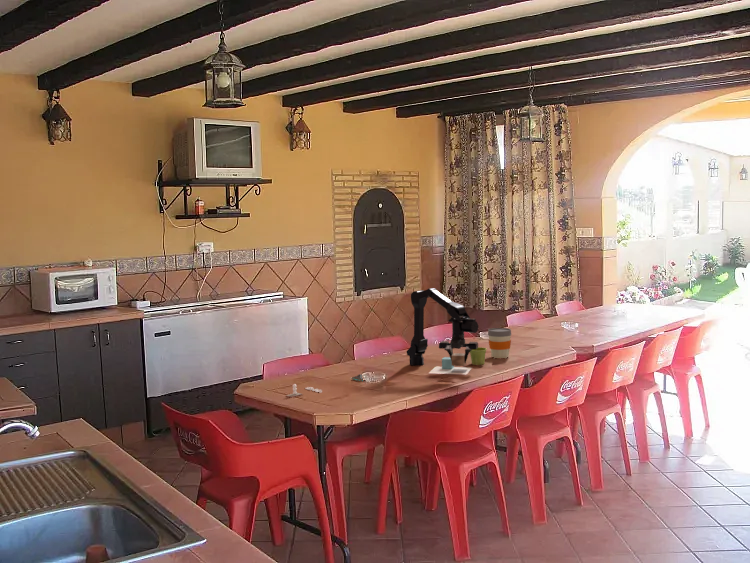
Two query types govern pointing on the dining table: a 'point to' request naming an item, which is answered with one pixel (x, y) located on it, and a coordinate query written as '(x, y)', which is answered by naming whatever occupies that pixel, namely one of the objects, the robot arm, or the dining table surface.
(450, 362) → the teal cube
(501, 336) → the reusable coffee cup
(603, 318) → the dining table surface
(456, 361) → the walnut block
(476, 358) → the plant pot
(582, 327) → the dining table surface
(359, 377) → the game pieces
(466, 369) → the board
